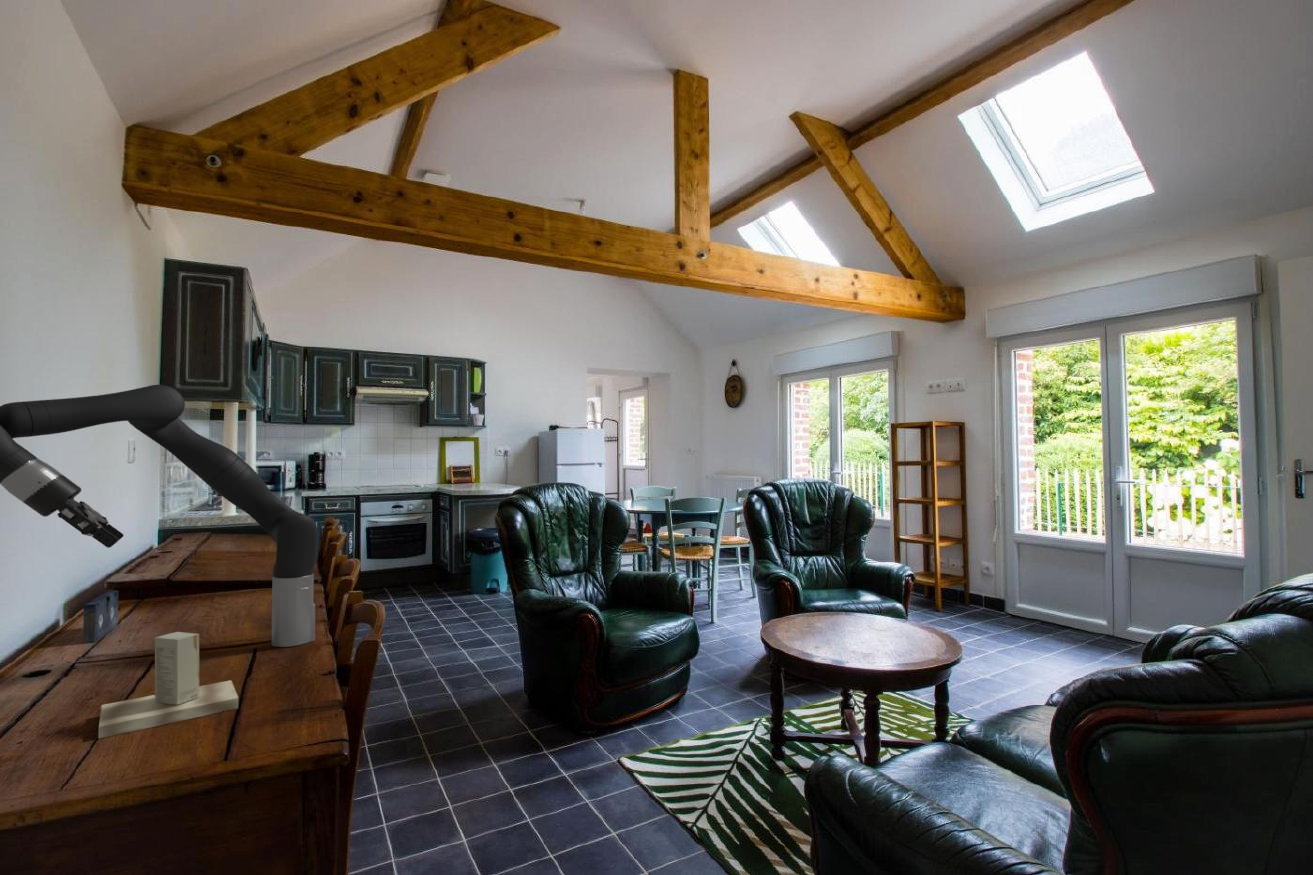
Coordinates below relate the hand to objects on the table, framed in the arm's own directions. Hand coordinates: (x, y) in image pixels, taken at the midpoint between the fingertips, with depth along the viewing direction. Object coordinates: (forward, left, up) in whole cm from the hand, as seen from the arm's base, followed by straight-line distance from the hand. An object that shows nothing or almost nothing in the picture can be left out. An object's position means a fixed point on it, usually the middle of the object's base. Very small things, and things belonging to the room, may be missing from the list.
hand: (117, 541), depth 128 cm
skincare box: (-9, +19, -29) cm, 36 cm away
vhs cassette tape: (+4, -56, -31) cm, 64 cm away
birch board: (-9, +19, -31) cm, 37 cm away
